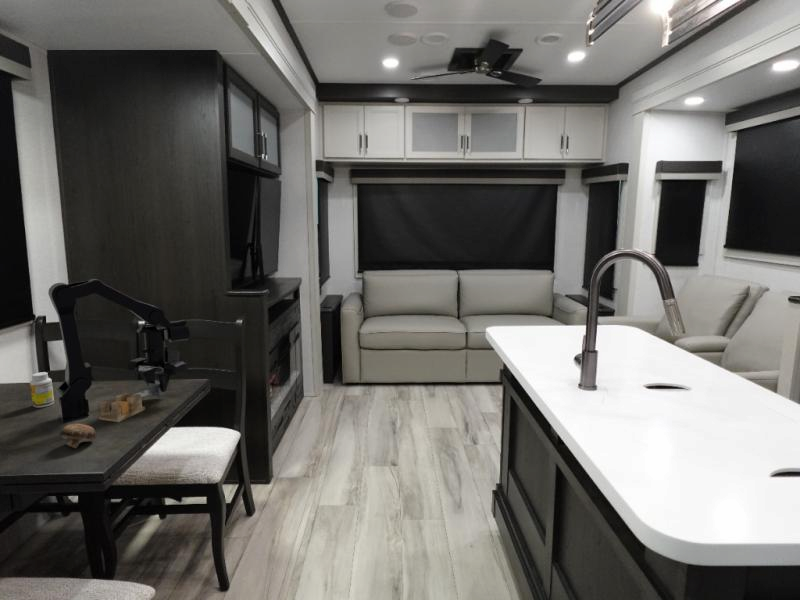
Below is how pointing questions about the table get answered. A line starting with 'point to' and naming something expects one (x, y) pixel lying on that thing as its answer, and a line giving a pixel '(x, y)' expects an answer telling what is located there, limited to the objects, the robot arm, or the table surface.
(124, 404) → the block
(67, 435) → the mushroom
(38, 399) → the supplement bottle
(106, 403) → the bearing block
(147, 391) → the shaft
